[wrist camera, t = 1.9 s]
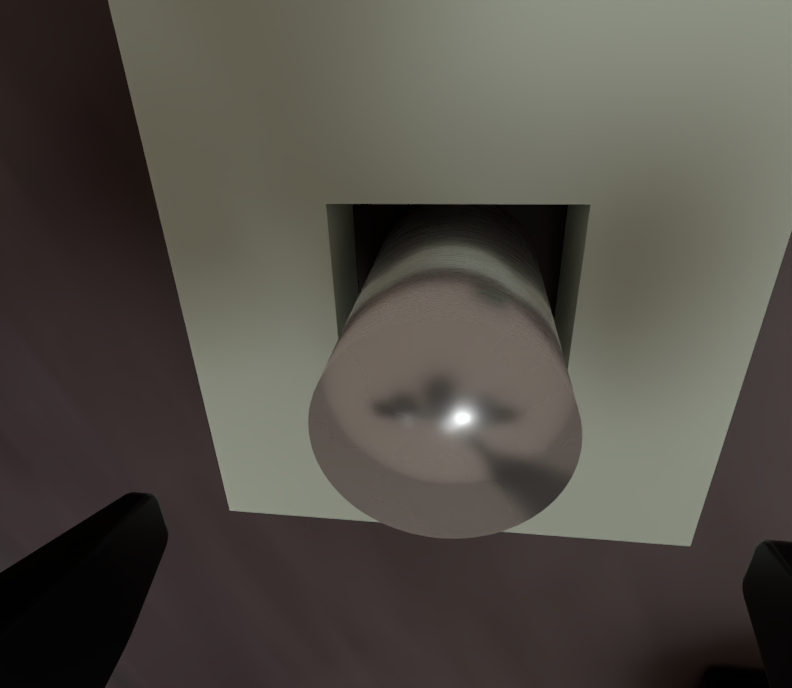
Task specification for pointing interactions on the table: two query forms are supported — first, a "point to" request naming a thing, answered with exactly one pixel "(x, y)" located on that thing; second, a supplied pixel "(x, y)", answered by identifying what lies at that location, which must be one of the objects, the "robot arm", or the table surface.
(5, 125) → the table surface
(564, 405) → the gray cylinder
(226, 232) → the bore block
